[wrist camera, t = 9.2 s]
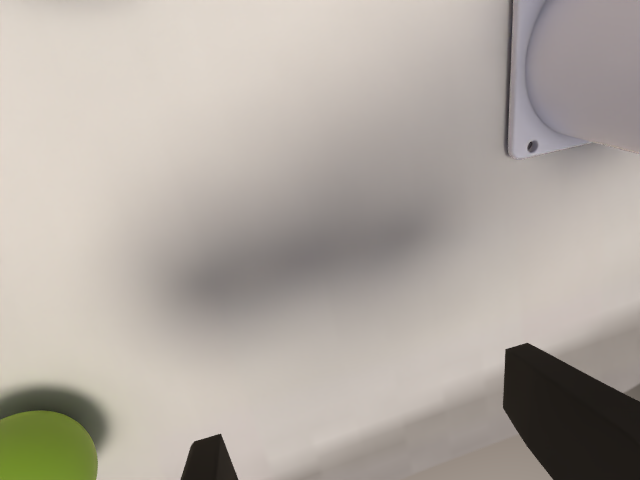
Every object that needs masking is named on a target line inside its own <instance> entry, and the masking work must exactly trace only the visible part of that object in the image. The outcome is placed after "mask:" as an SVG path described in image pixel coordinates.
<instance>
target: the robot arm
mask: <svg viewBox="0 0 640 480" xmlns="http://www.w3.org/2000/svg"><path fill="white" fill-rule="evenodd" d="M531 141H532V146H531V148H530V149H529V150H528V149H527V147H528V144H529V143H530V142H531ZM590 143H598V144H602V145H606V146H610V147H614V148H618V149H622V150H626V151H630V152H634V153H638V154H640V0H513V22H512V48H511V75H510V101H509V128H508V154H509V155H510V157H512V158H515V159H518V160H519V159H525V158H530V157H534V156H538V155H543V154H547V153H551V152H555V151H560V150H564V149H568V148H572V147H577V146H581V145H585V144H590ZM503 408H504V410H505V412H506V413H507V415H508V417H509V418H510V420H511V422H512V423H513V425H514V427H515V428H516V430H517V431H518V433H519V434H520V436H521V437H522V439H523V441H524V442H525V444H526V445H527V447H528V448H529V449H530V450H531V452H532V453H533V454H534V456H535V457H536V458H537V460H538V461H539V462H540V463H541V465H542V466H543V467H544V468H545V469H546V471H547V472H548V474H549V475H550V476H551V477H552V478H553V480H640V402H639V401H637V400H635V399H633V398H631V397H629V396H627V395H625V394H623V393H621V392H619V391H617V390H616V389H614V388H612V387H610V386H608V385H606V384H604V383H602V382H600V381H598V380H596V379H594V378H593V377H591V376H589V375H587V374H585V373H583V372H581V371H579V370H578V369H576V368H574V367H572V366H570V365H568V364H566V363H565V362H563V361H561V360H559V359H557V358H555V357H554V356H552V355H550V354H548V353H546V352H544V351H542V350H540V349H539V348H537V347H535V346H533V345H531V344H529V343H525V344H522V345H519V346H515V347H512V348H509V349H506V352H505V374H504V396H503ZM181 480H238V478H237V475H236V472H235V470H234V467H233V464H232V462H231V459H230V457H229V454H228V451H227V449H226V446H225V443H224V441H223V438H222V435H221V434H218V435H215V436H211V437H208V438H205V439H201V440H198V441H194V443H193V444H192V446H191V448H190V451H189V454H188V458H187V461H186V464H185V467H184V471H183V474H182V477H181Z"/></svg>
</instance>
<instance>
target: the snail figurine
mask: <svg viewBox="0 0 640 480" xmlns="http://www.w3.org/2000/svg"><path fill="white" fill-rule="evenodd" d="M97 468H98V461H97V453H96V449H95V446H94V443H93V441H92V439H91V437H90V435H89V434H88V432H87V431H86V430H85V428H84V427H83V426H82V425H81V424H79V423H78V422H77V421H75V420H74V419H72V418H70V417H68V416H66V415H64V414H61V413H57V412H52V411H43V410H37V411H27V412H21V413H17V414H14V415H11V416H8V417H5V418H3V419H1V420H0V480H96V477H97Z"/></svg>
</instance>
